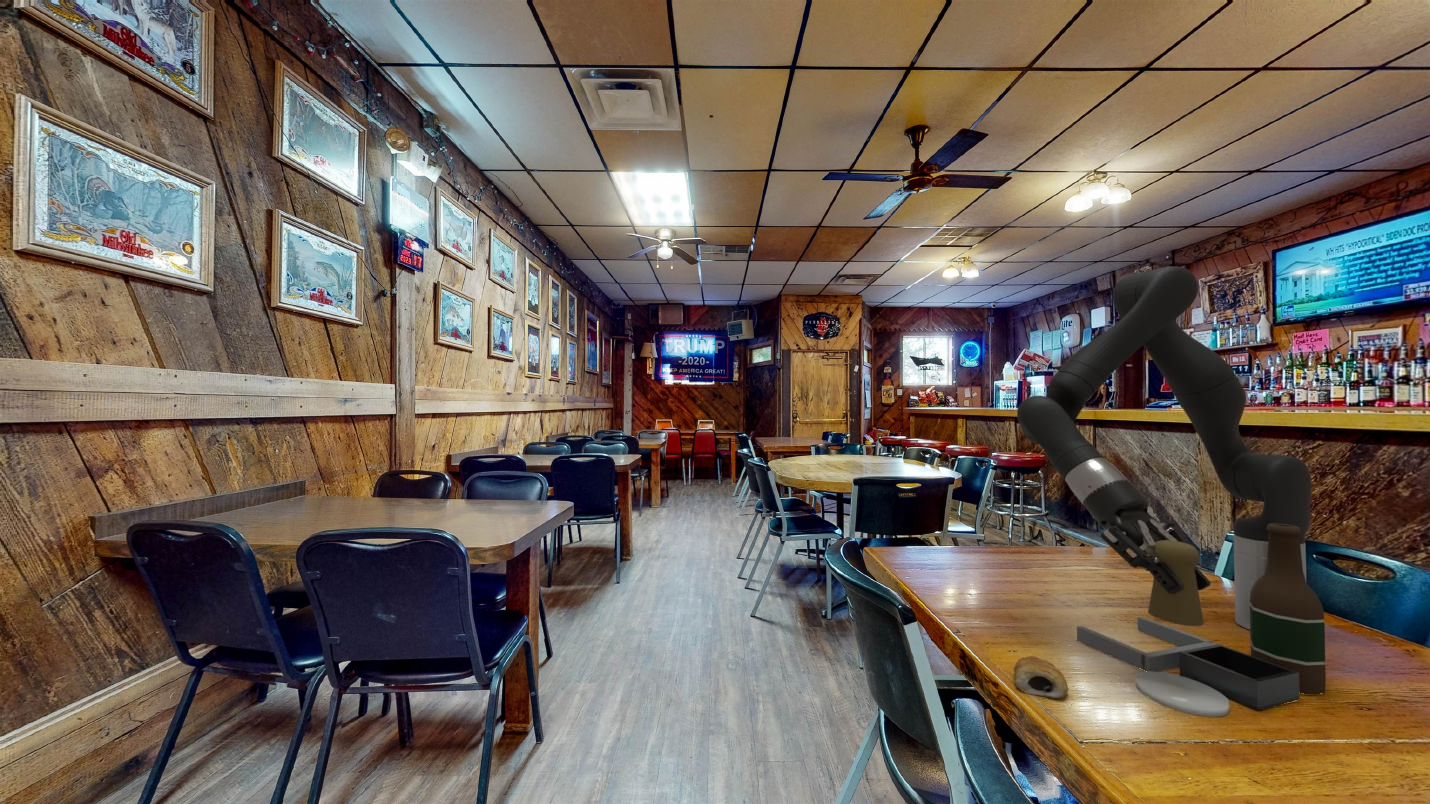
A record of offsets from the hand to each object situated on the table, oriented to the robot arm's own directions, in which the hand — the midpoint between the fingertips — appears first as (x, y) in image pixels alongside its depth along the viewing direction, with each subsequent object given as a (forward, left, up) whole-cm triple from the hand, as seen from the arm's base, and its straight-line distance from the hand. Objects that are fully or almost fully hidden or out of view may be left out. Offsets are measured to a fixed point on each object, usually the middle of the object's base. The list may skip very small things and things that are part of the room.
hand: (1190, 589), depth 72 cm
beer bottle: (-20, 0, -16) cm, 26 cm away
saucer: (0, -2, -16) cm, 16 cm away
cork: (0, -2, -5) cm, 5 cm away
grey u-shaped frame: (-11, -14, -16) cm, 24 cm away
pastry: (+17, -10, -16) cm, 26 cm away
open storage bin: (-11, -1, -16) cm, 19 cm away
